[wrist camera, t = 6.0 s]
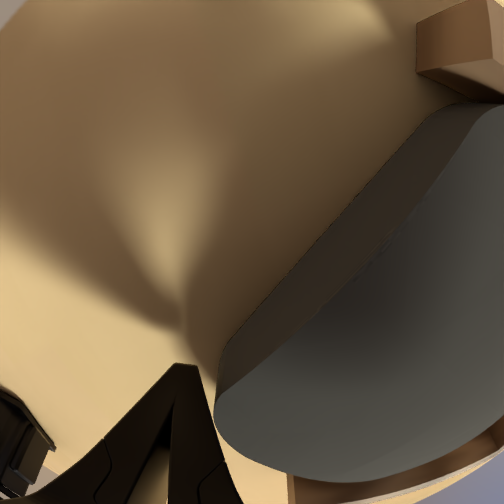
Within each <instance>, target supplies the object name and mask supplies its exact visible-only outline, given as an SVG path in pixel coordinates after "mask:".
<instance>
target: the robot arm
mask: <svg viewBox="0 0 504 504" xmlns="http://www.w3.org/2000/svg"><path fill="white" fill-rule="evenodd" d="M48 450H51V451H53V452H55V450H56V446H55V445H54V444H53V443H52V442H51V440H50V439H49V438H48V437H47V435H46V434H45V433H44V432H43V430H42V429H41V428H40V426H39V425H38V424H37V423H36V421H35V420H34V418H33V417H32V416H31V414H30V413H29V412H28V410H27V409H26V407H25V406H24V405H23V404H22V403H20V402H19V401H17V400H15V399H14V398H12V397H10V396H8V395H6V394H4V393H3V392H1V391H0V492H2V493H4V494H5V495H6V496H8V497H9V498H11V499H3V498H1V497H0V504H166V501H167V497H168V504H244V503H243V501H242V500H241V498H240V496H239V494H238V492H237V490H236V488H235V485H234V483H233V480H232V478H231V475H230V473H229V470H228V467H227V464H226V462H225V458H224V455H223V452H222V449H221V446H220V443H219V440H218V436H217V433H216V430H215V427H214V423H213V420H212V417H211V413H210V410H209V406H208V403H207V399H206V395H205V392H204V388H203V384H202V381H201V377H200V373H199V369H198V366H197V365H191V364H183V363H174V364H173V365H172V366H171V367H170V368H169V369H168V370H167V371H166V372H165V373H164V374H163V375H162V377H161V378H160V379H159V380H158V381H157V382H156V383H155V384H154V385H153V386H152V387H151V388H150V389H149V390H148V391H147V392H146V393H145V395H144V396H143V397H142V398H141V399H140V400H139V401H138V402H137V403H136V404H135V405H134V406H133V407H132V408H131V409H130V410H129V411H128V412H127V413H126V414H125V415H124V417H123V418H122V419H121V420H120V421H119V422H118V423H117V424H116V425H115V426H114V427H113V428H112V429H111V430H110V431H109V432H108V433H107V434H106V435H105V436H104V439H101V440H100V441H99V442H98V443H97V444H96V445H95V446H94V447H93V448H92V449H91V450H90V451H89V452H88V453H87V454H86V455H85V456H84V457H83V458H81V459H80V460H79V461H78V462H77V463H75V464H74V465H73V466H72V467H70V468H69V469H68V470H66V471H65V472H64V473H62V474H61V475H60V476H58V477H57V478H56V479H54V480H53V481H52V482H50V483H49V484H47V485H46V486H44V487H43V488H41V489H40V490H38V491H37V492H35V493H32V494H30V495H27V496H25V494H26V491H27V489H28V486H29V484H31V485H33V484H35V481H36V479H37V476H38V474H39V471H40V469H41V467H42V464H43V462H44V459H45V457H46V455H47V452H48ZM3 485H4V486H3ZM10 490H11V491H10ZM12 491H13V492H14V493H13V492H12ZM15 493H16V494H15ZM17 494H18V495H19V496H18V495H17ZM20 496H21V497H20Z"/></svg>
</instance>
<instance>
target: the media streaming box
mask: <svg viewBox="0 0 504 504" xmlns="http://www.w3.org/2000/svg"><path fill="white" fill-rule="evenodd" d="M503 415H504V104H493V103H458V104H453V105H450V106H447V107H444V108H442V109H440V110H438V111H436V112H435V113H433V114H432V115H430V116H429V117H427V118H426V120H425V121H424V122H423V123H422V124H421V125H420V126H419V127H418V128H417V129H416V131H415V132H414V133H413V134H412V135H411V136H410V137H409V138H408V139H407V141H406V142H405V143H404V144H403V145H402V146H401V147H400V148H399V150H398V151H397V152H396V153H395V154H394V155H393V156H392V157H391V158H390V160H389V161H388V162H387V163H386V164H385V165H384V166H383V167H382V169H381V170H380V171H379V172H378V173H377V174H376V175H375V176H374V178H373V179H372V180H371V181H370V182H369V183H368V184H367V185H366V187H365V188H364V189H363V190H362V191H361V192H360V193H359V194H358V195H357V197H356V198H355V199H354V200H353V201H352V202H351V203H350V204H349V206H348V207H347V208H346V209H345V210H344V211H343V212H342V213H341V215H340V216H339V217H338V218H337V219H336V220H335V221H334V222H333V224H332V225H331V226H330V227H329V228H328V229H327V230H326V231H325V233H324V234H323V235H322V236H321V237H320V238H319V239H318V240H317V242H316V243H315V244H314V245H313V246H312V247H311V248H310V250H309V251H308V252H307V253H306V254H305V255H304V256H303V257H302V259H301V260H300V261H299V262H298V263H297V264H296V265H295V266H294V268H293V269H292V270H291V271H290V272H289V273H288V274H287V275H286V277H285V278H284V279H283V280H282V281H281V282H280V283H279V285H278V286H277V287H276V288H275V289H274V290H273V291H272V293H271V294H270V295H269V296H268V297H267V298H266V299H265V301H264V302H263V303H262V304H261V305H260V306H259V307H258V309H257V310H256V311H255V312H254V313H253V314H252V315H251V317H250V318H249V319H248V320H247V321H246V322H245V323H244V325H243V326H242V327H241V328H240V329H239V330H238V332H237V333H236V334H235V335H234V336H233V337H232V339H231V340H230V341H229V342H228V343H227V345H226V347H225V349H224V351H223V353H222V356H221V359H220V364H219V370H218V378H217V386H216V394H215V403H214V411H213V418H214V423H215V425H216V428H217V430H218V432H219V433H220V435H221V436H222V437H223V439H224V440H225V441H226V442H227V443H228V444H229V445H230V446H231V447H232V448H233V449H235V450H236V451H237V452H239V453H240V454H242V455H243V456H245V457H247V458H249V459H251V460H253V461H255V462H258V463H260V464H262V465H265V466H268V467H270V468H273V469H276V470H279V471H281V472H285V473H288V474H291V475H295V476H299V477H303V478H308V479H313V480H319V481H327V482H363V481H371V480H376V479H380V478H384V477H387V476H391V475H394V474H397V473H401V472H404V471H406V470H409V469H412V468H415V467H418V466H420V465H423V464H425V463H428V462H430V461H433V460H435V459H437V458H439V457H442V456H444V455H446V454H448V453H450V452H452V451H453V450H455V449H457V448H459V447H460V446H462V445H464V444H465V443H467V442H469V441H470V440H472V439H473V438H475V437H476V436H478V435H479V434H481V433H482V432H483V431H485V430H486V429H487V428H489V427H490V426H491V425H492V424H494V423H495V422H496V421H497V420H498V419H500V418H501V417H502V416H503Z"/></svg>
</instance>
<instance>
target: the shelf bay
mask: <svg viewBox="0 0 504 504" xmlns="http://www.w3.org/2000/svg"><path fill="white" fill-rule="evenodd" d="M416 73H418V74H421V75H423V76H425V77H428V78H430V79H432V80H434V81H437V82H439V83H441V84H443V85H445V86H447V87H449V88H452V89H454V90H456V91H458V92H459V93H461V94H463V95H465V96H467V97H469V98H471V99H473V100H474V101H476V102H478V103H493V104H504V8H503V7H502V6H501V5H499V4H498V3H497V2H496V1H494V0H468V1H465V2H463V3H460V4H458V5H455V6H453V7H451V8H448V9H446V10H444V11H442V12H440V13H437V14H435V15H433V16H431V17H429V18H427V19H425V20H423V21H421V22H419V23H417V58H416ZM503 449H504V415H503V416H502V417H501V418H500V419H498V420H497V421H496V422H495V423H494V424H492V425H491V426H490V427H489V428H487V429H486V430H485V431H483V432H482V433H481V434H479V435H478V436H476V437H475V438H473V439H472V440H470V441H469V442H467V443H465V444H464V445H462V446H460V447H459V448H457V449H455V450H453V451H452V452H450V453H448V454H446V455H444V456H442V457H439V458H437V459H435V460H433V461H430V462H428V463H425V464H423V465H420V466H418V467H415V468H412V469H409V470H406V471H404V472H401V473H397V474H394V475H391V476H387V477H384V478H380V479H376V480H371V481H363V482H327V481H319V480H313V479H308V478H303V477H299V476H295V475H291V474H288V473H287V489H288V504H369V503H374V502H378V501H382V500H386V499H390V498H394V497H397V496H401V495H404V494H407V493H411V492H414V491H417V490H420V489H423V488H426V487H428V486H431V485H434V484H436V483H439V482H442V481H444V480H447V479H449V478H451V477H454V476H456V475H458V474H461V473H463V472H465V471H467V470H469V469H471V468H473V467H476V466H478V465H480V464H481V463H483V462H485V461H487V460H489V459H491V458H493V457H495V456H496V455H498V454H499V453H500V452H501V451H502V450H503Z"/></svg>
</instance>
